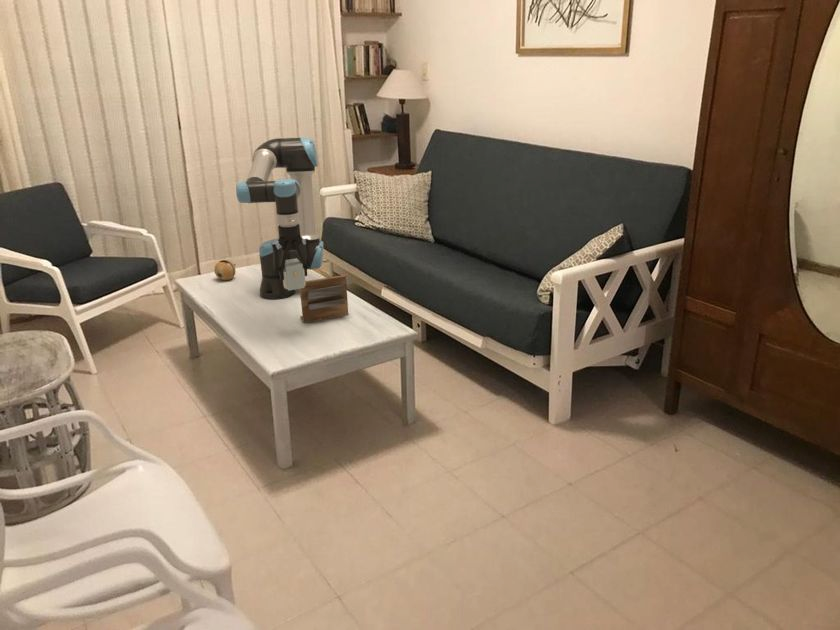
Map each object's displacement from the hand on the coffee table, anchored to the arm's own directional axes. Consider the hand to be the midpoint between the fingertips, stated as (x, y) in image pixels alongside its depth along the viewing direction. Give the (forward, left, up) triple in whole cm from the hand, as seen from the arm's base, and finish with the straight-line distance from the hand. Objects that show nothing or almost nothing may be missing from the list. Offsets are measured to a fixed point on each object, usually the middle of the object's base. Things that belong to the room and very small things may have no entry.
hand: (294, 286), depth 250 cm
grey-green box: (0, 0, 0) cm, 0 cm away
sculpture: (-76, -13, -18) cm, 79 cm away
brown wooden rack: (-8, +13, -18) cm, 23 cm away
